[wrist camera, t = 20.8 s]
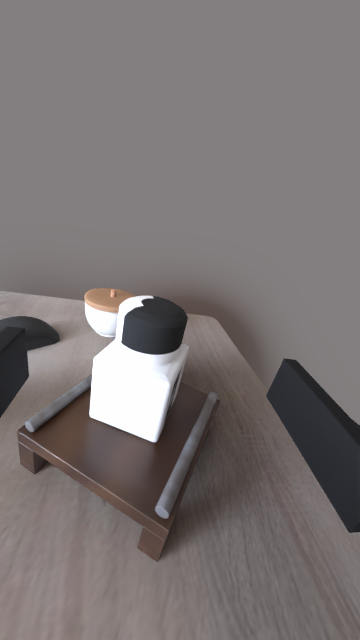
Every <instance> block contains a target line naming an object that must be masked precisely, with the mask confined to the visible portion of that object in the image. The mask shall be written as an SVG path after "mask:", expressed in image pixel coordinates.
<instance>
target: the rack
mask: <svg viewBox="0 0 360 640" xmlns="http://www.w3.org/2000/svg"><path fill="white" fill-rule="evenodd" d="M91 385H92V374H91V375H89V376H88V377H87V378H85V379H84V380H83V381H81V382H80V383H78V384H77V385H76V386H74V387H73V388H71V389H70V390H69V391H67V392H66V393H64V394H63V395H62V396H60V397H59V398H58V399H56V400H55V401H53V402H52V403H51V404H49V405H48V406H46V407H45V408H44V409H42V410H41V411H39V412H38V413H37V414H35V415H34V416H32V417H31V418H30V419H28V420H27V421H26V422H25V425H24V426H22V427H21V428H20V429H18V430H17V435H18V445H19V454H20V463H21V465H23V466H24V467H25V468H27V469H28V470H29V471H31V472H32V473H34V474H35V473H36V472H37V471H38V470H39V469H41V468H42V467H43V466H44V465H45V464H46V463H47V462H50V463H51V464H53V465H54V466H56V467H57V468H59V469H60V470H62V471H63V472H64V473H66V474H67V475H69V476H70V477H72V478H73V479H75V480H76V481H78V482H79V483H81V484H82V485H84V486H85V487H86V488H88V489H89V490H91V491H92V492H94V493H95V494H97V495H98V496H100V497H101V498H103V499H104V500H106V501H107V502H108V503H110V504H111V505H113V506H114V507H116V508H117V509H119V510H120V511H122V512H123V513H125V514H126V515H128V516H129V517H130V518H132V519H133V520H135V521H136V522H138V523H139V524H141V525H142V526H143V529H142V533H141V537H140V540H139V544H138V549H140V550H141V551H143V552H144V553H145V554H147V555H148V556H149V557H151V558H152V559H154V560H155V561H156V562H158V560H159V558H160V555H161V552H162V550H163V547H164V545H165V542H166V539H167V537H168V534H169V532H170V529H171V526H172V523H173V521H174V518H175V515H176V513H177V510H178V508H179V505H180V503H181V500H182V497H183V495H184V492H185V490H186V487H187V484H188V482H189V479H190V477H191V474H192V472H193V469H194V466H195V464H196V461H197V459H198V456H199V453H200V451H201V448H202V446H203V443H204V441H205V438H206V436H207V433H208V431H209V428H210V425H211V423H212V420H213V417H214V415H215V412H216V410H217V407H218V404H219V402H220V401H219V400H218V399H217V398H218V397H217V394H216V393H214V392H211V393H209V395H207V394H205V393H202V392H200V391H198V390H196V389H194V388H191V387H189V386H187V385H185V384H183V383H181V382H180V384H179V388H178V391H177V395H176V397H175V400H174V402H173V405H172V407H171V410H170V412H169V415H168V417H167V419H166V422H165V424H164V427H163V429H162V432H161V434H160V436H159V439H158V441H157V442H151V441H149V440H146V439H144V438H141V437H139V436H136V435H134V434H131V433H129V432H126V431H124V430H121V429H119V428H116V427H114V426H111V425H109V424H106V423H104V422H101V421H99V420H96V419H94V418H91V417H90V414H89V412H90V399H91Z"/></svg>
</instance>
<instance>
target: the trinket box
mask: <svg viewBox="0 0 360 640" xmlns="http://www.w3.org/2000/svg"><path fill="white" fill-rule="evenodd" d="M132 297H136V296H135V295H133V294H131V293H129V292H126V291H123V290H119V289H112V288H97V289H92V290H90V291H88V292H87V293H86V294H85V314H86V318H87V321H88V323H89V325H90V326H91V327H92V328H93V329H94V330H95V331H96V333H98V334H99V335H101V336H105V337H116V331H117V322H118V313H119V306H120V305H121V303H123V302H124V301H125V300H126V299H129V298H132Z"/></svg>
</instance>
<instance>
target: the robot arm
mask: <svg viewBox="0 0 360 640" xmlns="http://www.w3.org/2000/svg"><path fill="white" fill-rule="evenodd" d="M28 377H29V372H28V359H27V346H26V333H25V328H18V327H10V326H6V327H4V328H3V329H2V330H1V331H0V417H1V416H2V414H3V413H4V412H5V410H6V409H7V407H8V406H9V404H10V403H11V402H12V400H13V399H14V397H15V396H16V394H17V393H18V391H19V390H20V389H21V387H22V386H23V384H24V383H25V381H26V380H27V379H28ZM266 396H267V398H268V400H269V401H270V403H271V404H272V406H273V408H274V409H275V411H276V413H277V414H278V416H279V418H280V419H281V421H282V423H283V424H284V426H285V428H286V429H287V431H288V433H289V434H290V436H291V437H292V439H293V441H294V442H295V444H296V446H297V447H298V449H299V451H300V452H301V454H302V456H303V457H304V459H305V461H306V462H307V464H308V465H309V467H310V469H311V470H312V472H313V474H314V475H315V477H316V479H317V480H318V482H319V484H320V485H321V487H322V489H323V490H324V492H325V493H326V495H327V497H328V498H329V500H330V502H331V503H332V505H333V507H334V508H335V510H336V512H337V513H338V515H339V517H340V518H341V520H342V522H343V523H344V525H345V526H346V528H347V530H348V531H349V533H352V532H360V425H358V424H357V423H356V422H354V421H353V420H352V419H351V418H350V417H348V415H347V414H346V413H345V412H344V411H343V410H342V409H341V408H340V407H339V405H338V404H337V403H336V402H335V401H334V400H333V399H332V398H331V397H330V396H329V395H328V394H327V393H326V392H325V391H324V389H323V388H321V386H320V385H319V384H318V383H317V382H316V381H315V380H314V379H313V378H312V377H311V376H310V374H309V373H308V372H307V371H306V370H305V369H304V368H303V367H302V366H301V365H300V364H299V363H298V362H297V361H296V360H291V359H284V360H283V362H282V364H281V366H280V368H279V370H278V372H277V374H276V377H275V379H274V381H273V383H272V385H271V387H270V389H269V391H268V393H267V395H266Z"/></svg>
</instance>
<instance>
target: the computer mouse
mask: <svg viewBox="0 0 360 640" xmlns="http://www.w3.org/2000/svg"><path fill="white" fill-rule="evenodd" d="M6 326H10V327H18V328H25V333H26V346H27V350H31V349H35V348H39V347H43V346H47V345H50V344H54V343H57V342H58V341H59V335H58V333H57V332H56V331H55V330H54V329H53V328H52V327H51V326H50V325H49V324H47V323H46V322H44V321H42V320H40V319H37V318H33V317H26V316H17V317H10V318H6V319H2V320H0V331H1V330H2V329H3V328H4V327H6Z"/></svg>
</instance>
